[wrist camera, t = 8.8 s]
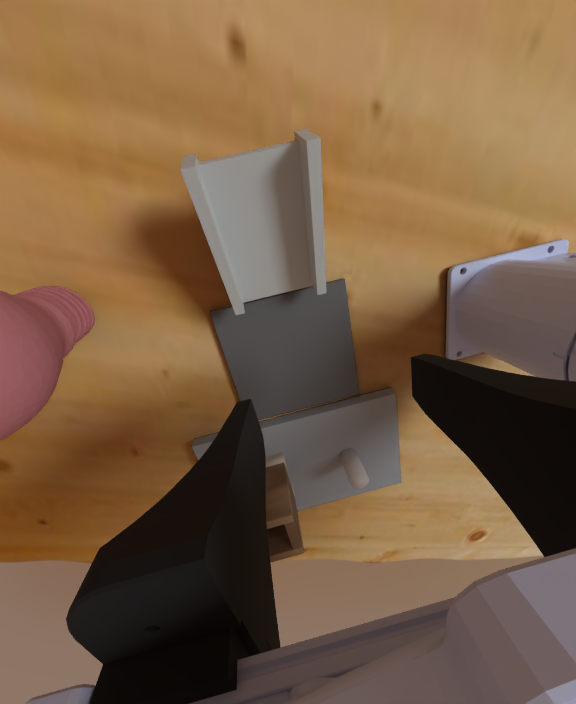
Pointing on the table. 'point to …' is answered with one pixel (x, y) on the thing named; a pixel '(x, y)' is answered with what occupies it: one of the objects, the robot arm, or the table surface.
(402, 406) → the table surface
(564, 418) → the robot arm
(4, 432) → the light bulb
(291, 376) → the mat
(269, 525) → the sleeve
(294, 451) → the pin board
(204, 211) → the feeder chute
